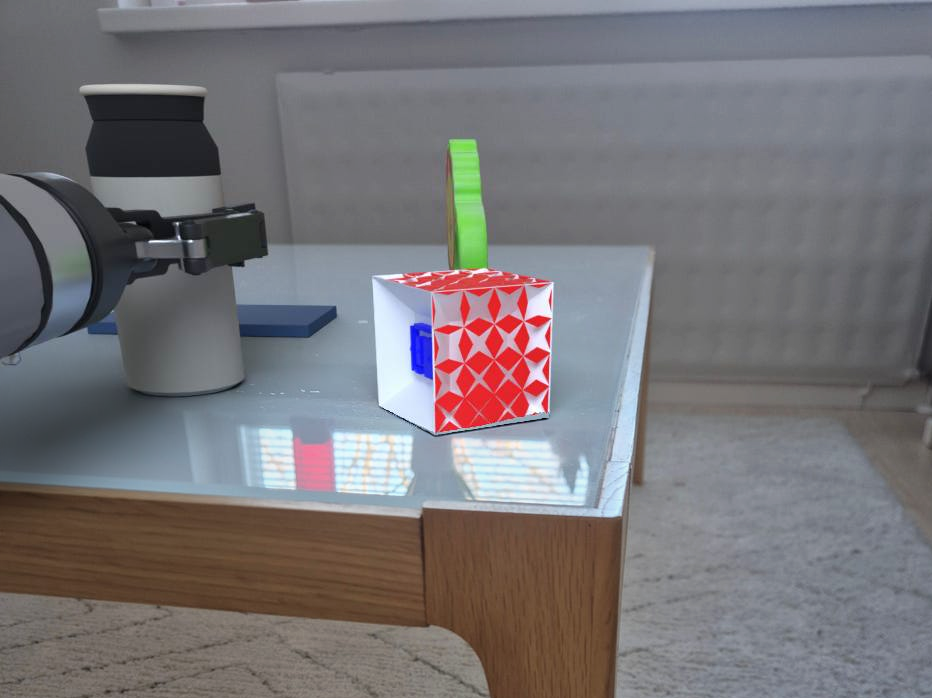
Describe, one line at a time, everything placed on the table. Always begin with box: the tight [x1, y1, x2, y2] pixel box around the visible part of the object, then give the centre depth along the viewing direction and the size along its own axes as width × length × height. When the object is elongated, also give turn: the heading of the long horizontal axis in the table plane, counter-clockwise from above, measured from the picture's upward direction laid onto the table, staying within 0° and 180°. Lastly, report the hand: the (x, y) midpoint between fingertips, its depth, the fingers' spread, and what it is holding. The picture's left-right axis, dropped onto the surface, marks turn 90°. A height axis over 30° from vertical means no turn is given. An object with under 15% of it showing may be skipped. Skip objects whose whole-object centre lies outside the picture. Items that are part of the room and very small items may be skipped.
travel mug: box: [78, 83, 246, 397], centre depth 62 cm, size 8×8×18 cm
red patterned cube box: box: [371, 267, 555, 433], centre depth 57 cm, size 8×8×8 cm
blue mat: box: [86, 303, 338, 338], centre depth 87 cm, size 20×11×1 cm, turn 85°
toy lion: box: [444, 138, 489, 271], centre depth 75 cm, size 16×5×15 cm, turn 5°
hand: (190, 224), depth 65 cm, fingers closed on travel mug, 8 cm apart
